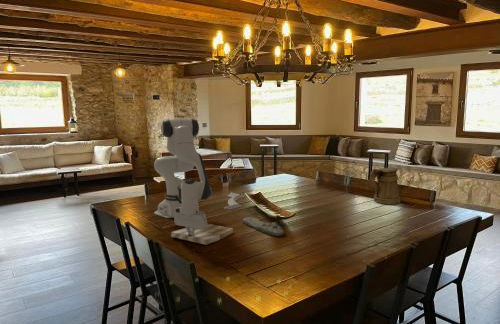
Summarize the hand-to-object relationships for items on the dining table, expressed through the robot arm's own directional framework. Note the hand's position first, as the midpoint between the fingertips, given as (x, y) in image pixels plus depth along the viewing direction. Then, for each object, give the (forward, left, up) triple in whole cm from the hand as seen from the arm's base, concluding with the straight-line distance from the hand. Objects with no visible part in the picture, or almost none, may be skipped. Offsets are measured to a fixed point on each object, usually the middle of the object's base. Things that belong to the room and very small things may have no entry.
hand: (191, 235), depth 205 cm
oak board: (0, +16, -4) cm, 17 cm away
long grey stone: (+22, +37, -4) cm, 44 cm away
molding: (-27, +78, -4) cm, 82 cm away
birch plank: (0, +4, -3) cm, 5 cm away
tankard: (+70, +133, -4) cm, 150 cm away
